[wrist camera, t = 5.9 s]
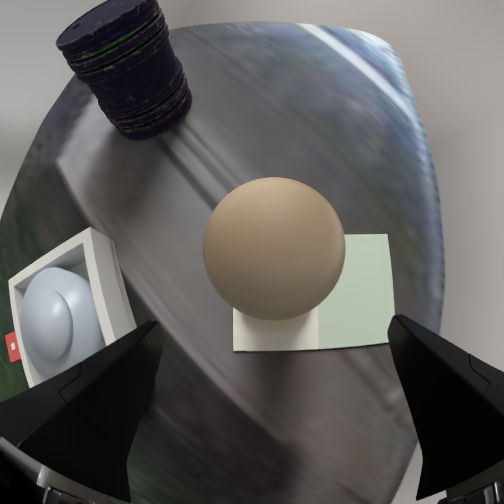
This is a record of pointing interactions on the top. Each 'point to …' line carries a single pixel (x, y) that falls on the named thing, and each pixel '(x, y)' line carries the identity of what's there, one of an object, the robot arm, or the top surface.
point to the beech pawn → (274, 250)
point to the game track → (336, 306)
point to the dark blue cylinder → (129, 66)
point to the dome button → (59, 321)
